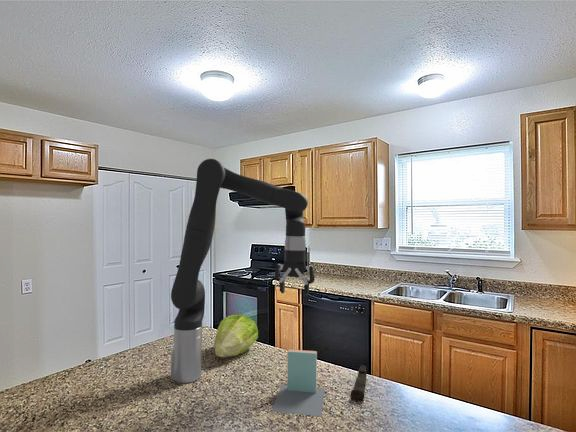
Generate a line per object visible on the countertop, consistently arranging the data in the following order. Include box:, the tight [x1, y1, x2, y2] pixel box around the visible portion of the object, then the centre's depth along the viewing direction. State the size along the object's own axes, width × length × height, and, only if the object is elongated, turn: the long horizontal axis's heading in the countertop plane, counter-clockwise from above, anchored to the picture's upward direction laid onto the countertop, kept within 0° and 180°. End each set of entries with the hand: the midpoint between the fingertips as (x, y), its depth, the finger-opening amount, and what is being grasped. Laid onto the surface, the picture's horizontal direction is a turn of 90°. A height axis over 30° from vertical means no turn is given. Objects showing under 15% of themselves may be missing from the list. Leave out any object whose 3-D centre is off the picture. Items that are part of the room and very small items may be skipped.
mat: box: [270, 383, 326, 417], centre depth 100 cm, size 14×16×1 cm
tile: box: [286, 349, 318, 393], centre depth 106 cm, size 9×2×12 cm, turn 80°
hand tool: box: [350, 364, 368, 402], centre depth 108 cm, size 19×4×5 cm, turn 159°
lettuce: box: [213, 313, 259, 358], centre depth 137 cm, size 17×24×14 cm
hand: (294, 293), depth 120 cm, fingers open, 8 cm apart
